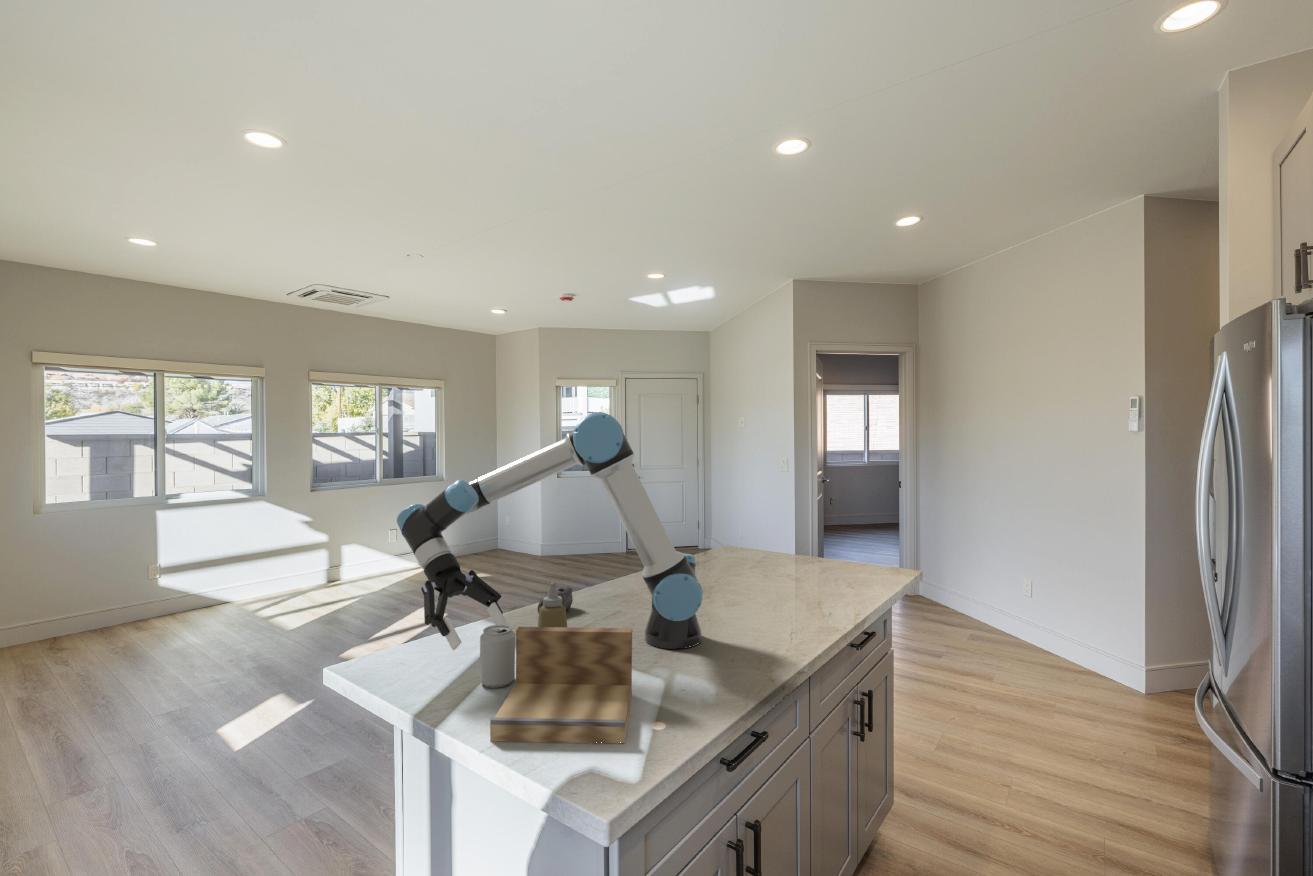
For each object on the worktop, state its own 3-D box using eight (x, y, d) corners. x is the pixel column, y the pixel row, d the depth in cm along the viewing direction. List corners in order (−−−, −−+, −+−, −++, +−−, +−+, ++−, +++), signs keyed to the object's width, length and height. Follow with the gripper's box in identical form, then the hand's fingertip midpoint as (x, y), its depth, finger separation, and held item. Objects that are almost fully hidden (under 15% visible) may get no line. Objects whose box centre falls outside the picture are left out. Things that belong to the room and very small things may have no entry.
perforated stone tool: (544, 621, 174) (544, 597, 174) (531, 618, 177) (531, 594, 176) (577, 609, 186) (578, 587, 186) (565, 606, 189) (565, 584, 189)
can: (505, 691, 126) (505, 635, 126) (473, 687, 127) (473, 632, 127) (520, 677, 133) (520, 624, 133) (489, 674, 135) (490, 621, 135)
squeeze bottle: (575, 653, 148) (575, 581, 148) (556, 664, 141) (557, 589, 141) (548, 648, 152) (548, 578, 152) (528, 658, 144) (529, 585, 144)
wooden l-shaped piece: (631, 694, 125) (632, 628, 125) (624, 743, 105) (625, 665, 105) (518, 692, 125) (519, 626, 125) (490, 741, 105) (490, 663, 105)
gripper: (471, 562, 152) (513, 631, 144) (382, 582, 130) (426, 664, 123) (486, 543, 149) (530, 613, 141) (398, 561, 128) (443, 644, 120)
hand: (482, 637), depth 132 cm, fingers open, 13 cm apart
